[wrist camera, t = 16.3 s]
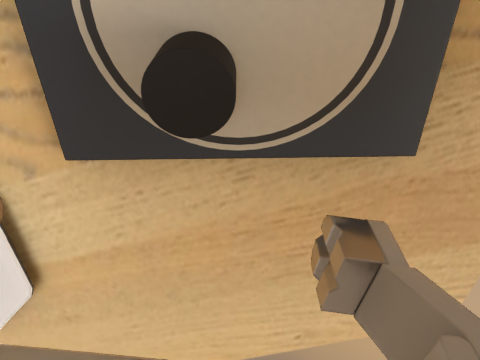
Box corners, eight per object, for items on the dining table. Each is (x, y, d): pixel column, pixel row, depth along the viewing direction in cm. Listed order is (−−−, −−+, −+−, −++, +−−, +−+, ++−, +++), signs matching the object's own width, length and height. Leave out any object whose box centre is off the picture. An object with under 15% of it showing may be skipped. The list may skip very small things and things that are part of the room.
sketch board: (518, -253, 13) (544, -269, 12) (409, 148, 22) (418, 159, 21) (-49, -243, 13) (-75, -258, 12) (71, 152, 22) (62, 163, 21)
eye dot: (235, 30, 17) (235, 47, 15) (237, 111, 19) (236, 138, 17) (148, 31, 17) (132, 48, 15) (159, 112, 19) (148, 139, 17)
